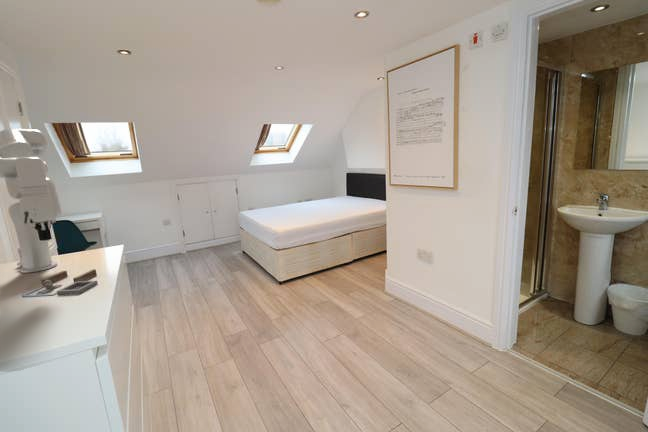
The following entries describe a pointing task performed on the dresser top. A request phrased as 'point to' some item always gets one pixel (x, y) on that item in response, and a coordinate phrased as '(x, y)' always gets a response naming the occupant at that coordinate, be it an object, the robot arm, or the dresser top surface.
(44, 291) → the strap clip
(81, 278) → the walled tunnel
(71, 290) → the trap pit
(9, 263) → the dresser top surface
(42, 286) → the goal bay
